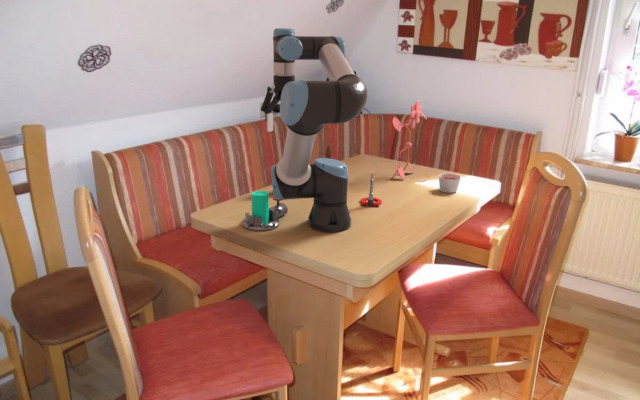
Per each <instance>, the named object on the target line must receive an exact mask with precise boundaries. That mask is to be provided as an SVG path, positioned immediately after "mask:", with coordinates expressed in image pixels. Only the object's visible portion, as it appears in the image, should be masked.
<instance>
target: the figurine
mask: <svg viewBox="0 0 640 400" xmlns="http://www.w3.org/2000/svg"><path fill="white" fill-rule="evenodd" d="M422 108H423V105H420V99H418V100H417V101H416V102H415V104H412V105H411V106H410V111H411V113H410V115H409V117H408V119H407V120H406V121H405V122H404V124H403V125H402V123H401V121H400V120H399V118H397V117H396V116H393V119H392V126H393V127H394V129H395V130H396V131H397V132H398V133H401V130H402V128H404V127H405V128H406V129H407V131H408V133H409V137H408V141H407V142H406V143H405V147H404V148H403V149H402V150H401V151H399V157H401V155H402V154H401V153H402V152H404V151H405V150H407V151H408V152H407V153H408V154H407V156H408V157H407V158H408V159H407V161H406V165H405V166H404V168H403V167H402V166H401V164H398V165H397V167H396V169H397V170H396V171H395V173H394V174H393V176H392V178H395V176H396V174H397V173H398V175H399V177H400V178H401V179H402V181H404V179H405V172H404V171H405V170H406V168H408V167H407V166H409V169H410V170H411V172H412V173H413V174H414V171H413V168H412V167H411V164H410V149H411V147H412V146H413V145H412V143H411V136H412V135H411V134H412V133H411V130H410V129H409V127H408V126H410V125H411V127H410V128H411V129H412V130H413V129H414V128H416V125H417V124H419V123H420V122H421V120H420V116H421V115H422V117H423V118H424V119H425V120H428V118H427V116H426V115H425V114H424V113H423V111H422ZM425 175H426V176H427V177H429V176H428V174H427V173H425ZM386 180H388V181H389V179H387V178H386ZM422 182H424V180H422V181H420V183H422Z"/></svg>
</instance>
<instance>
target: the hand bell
mask: <svg viewBox="0 0 640 400" xmlns="http://www.w3.org/2000/svg"><path fill="white" fill-rule="evenodd" d="M332 152H333V151H332V147H331V145H327V147H326V149H325V158H329V159H332V158H331V157H332V154H333V153H332Z"/></svg>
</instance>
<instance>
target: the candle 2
mask: <svg viewBox="0 0 640 400" xmlns="http://www.w3.org/2000/svg"><path fill="white" fill-rule="evenodd" d="M438 181H439V190H440V191H441V192H443V193H448V194H454V193H456V192H457V191H458V187H459V185H460V181H461V176H460V175H459V174H456V173H455V174H454V173H448V172H446V173H441V174H438Z"/></svg>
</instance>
